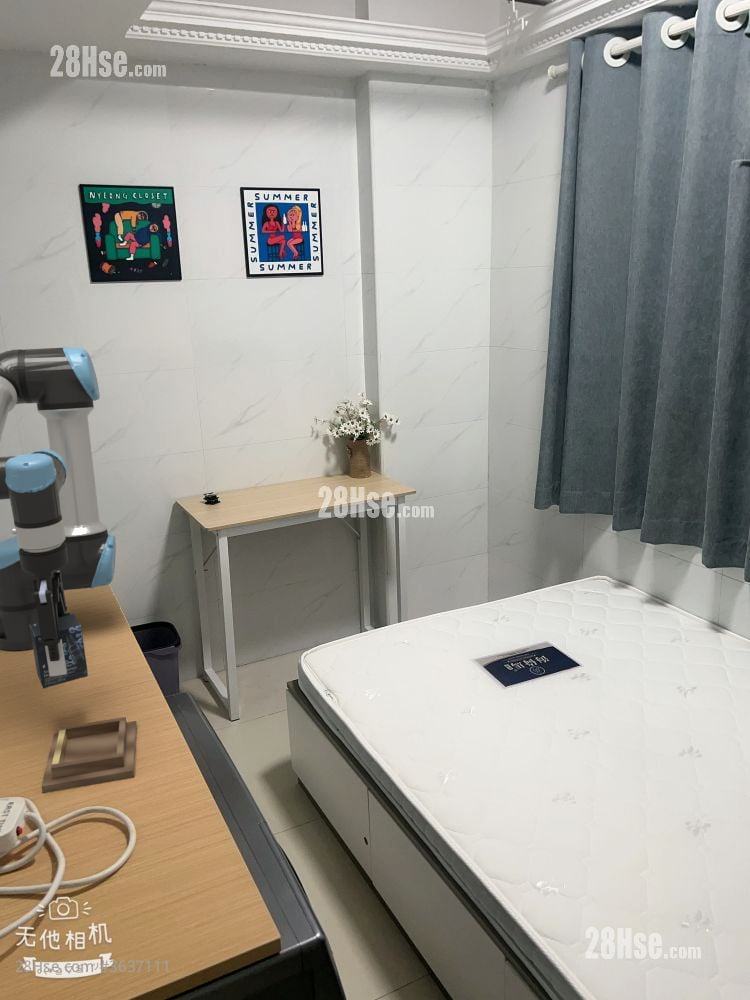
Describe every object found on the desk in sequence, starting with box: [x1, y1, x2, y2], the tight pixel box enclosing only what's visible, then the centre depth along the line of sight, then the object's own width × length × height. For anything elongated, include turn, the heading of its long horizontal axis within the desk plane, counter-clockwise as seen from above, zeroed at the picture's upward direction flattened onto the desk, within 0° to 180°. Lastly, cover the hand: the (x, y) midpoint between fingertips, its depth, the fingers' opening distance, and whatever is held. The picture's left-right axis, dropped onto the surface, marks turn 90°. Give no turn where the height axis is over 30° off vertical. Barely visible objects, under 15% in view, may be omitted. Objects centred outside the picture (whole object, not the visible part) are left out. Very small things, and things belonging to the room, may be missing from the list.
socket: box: [41, 716, 138, 794], centre depth 128 cm, size 15×14×3 cm
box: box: [30, 613, 89, 689], centre depth 134 cm, size 8×6×11 cm
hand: (60, 663), depth 135 cm, fingers closed on box, 7 cm apart
